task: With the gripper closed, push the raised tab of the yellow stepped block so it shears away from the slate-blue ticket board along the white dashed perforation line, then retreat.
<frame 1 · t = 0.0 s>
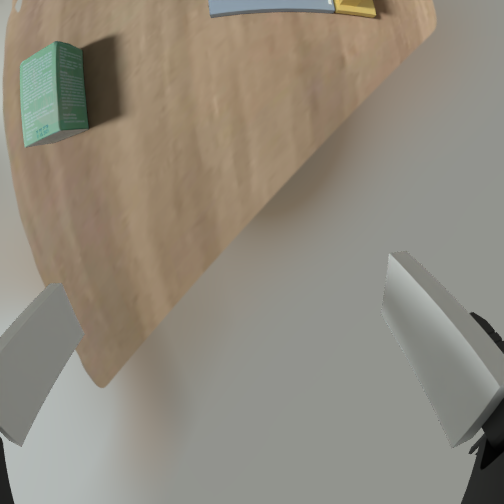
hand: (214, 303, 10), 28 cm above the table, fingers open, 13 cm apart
box: (67, 94, 30), on the table
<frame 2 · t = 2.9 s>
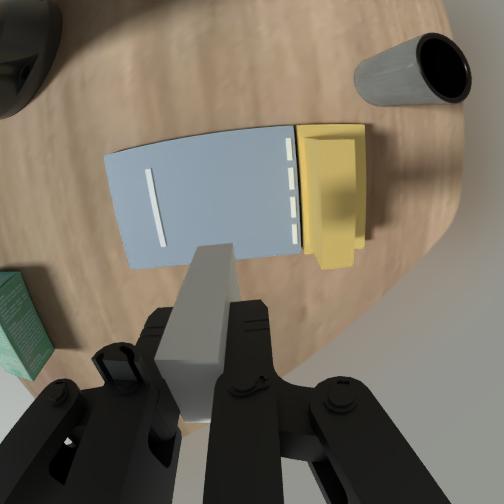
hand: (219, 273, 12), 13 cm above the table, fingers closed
ticket: (203, 198, 24), on the table
gray cylinder: (375, 83, 20), on the table
box: (23, 309, 30), on the table
yellow stepped block: (342, 195, 21), point 3 cm above the table, slide at 0.0 cm
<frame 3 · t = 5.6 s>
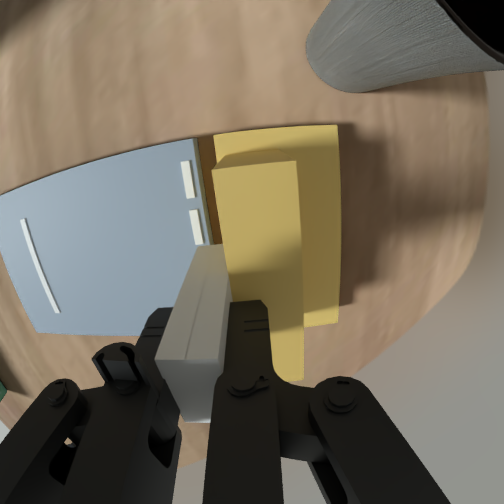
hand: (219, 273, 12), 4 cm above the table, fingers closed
ticket: (90, 254, 16), on the table
gray cylinder: (346, 55, 11), on the table
yellow stepped block: (291, 257, 12), point 3 cm above the table, slide at 0.7 cm, touching gripper
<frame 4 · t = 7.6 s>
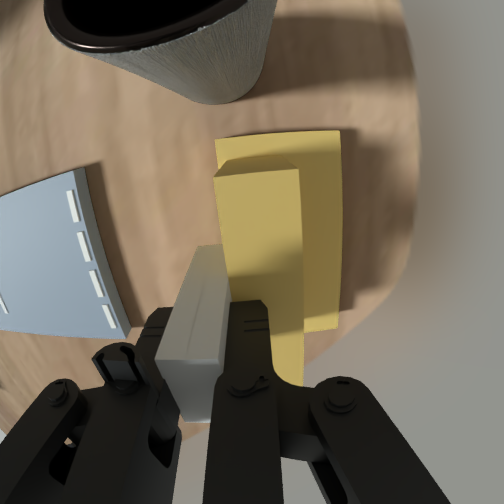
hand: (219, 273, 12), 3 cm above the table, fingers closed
ticket: (25, 265, 16), on the table
gray cylinder: (216, 64, 12), on the table
yellow stepped block: (292, 264, 12), point 3 cm above the table, slide at 7.5 cm, touching gripper
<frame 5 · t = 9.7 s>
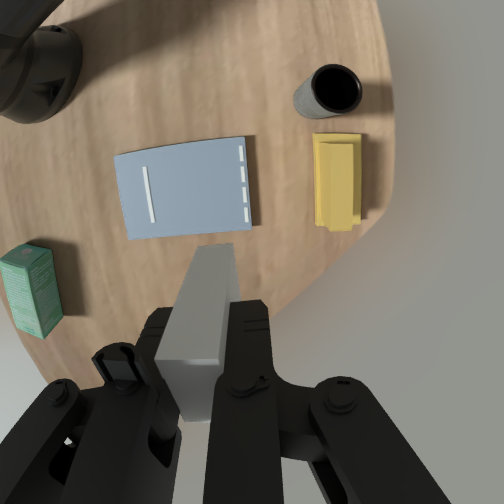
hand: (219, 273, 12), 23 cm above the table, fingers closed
ticket: (182, 188, 33), on the table
gray cylinder: (311, 101, 29), on the table
box: (43, 278, 39), on the table
yellow stepped block: (344, 183, 30), point 3 cm above the table, slide at 7.5 cm
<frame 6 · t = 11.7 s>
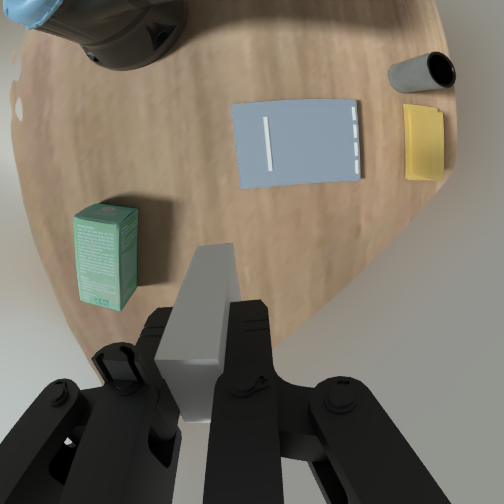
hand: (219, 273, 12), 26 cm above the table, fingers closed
ticket: (298, 141, 34), on the table
gray cylinder: (400, 78, 30), on the table
box: (117, 244, 40), on the table
yellow stepped block: (431, 144, 31), point 3 cm above the table, slide at 7.5 cm
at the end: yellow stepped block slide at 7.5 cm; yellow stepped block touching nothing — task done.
